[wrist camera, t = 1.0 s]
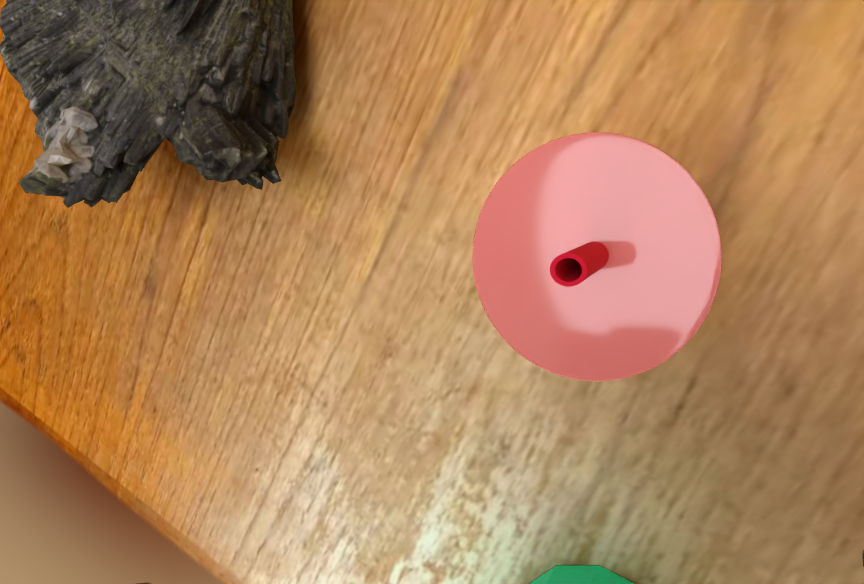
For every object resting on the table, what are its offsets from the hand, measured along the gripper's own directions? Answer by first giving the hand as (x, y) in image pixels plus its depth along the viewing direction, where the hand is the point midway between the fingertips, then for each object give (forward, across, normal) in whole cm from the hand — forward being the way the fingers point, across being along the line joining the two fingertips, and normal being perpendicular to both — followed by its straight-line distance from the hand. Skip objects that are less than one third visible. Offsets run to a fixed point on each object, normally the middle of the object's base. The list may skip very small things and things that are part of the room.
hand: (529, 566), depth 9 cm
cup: (+15, -7, +4) cm, 17 cm away
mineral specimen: (+26, +6, -1) cm, 27 cm away
